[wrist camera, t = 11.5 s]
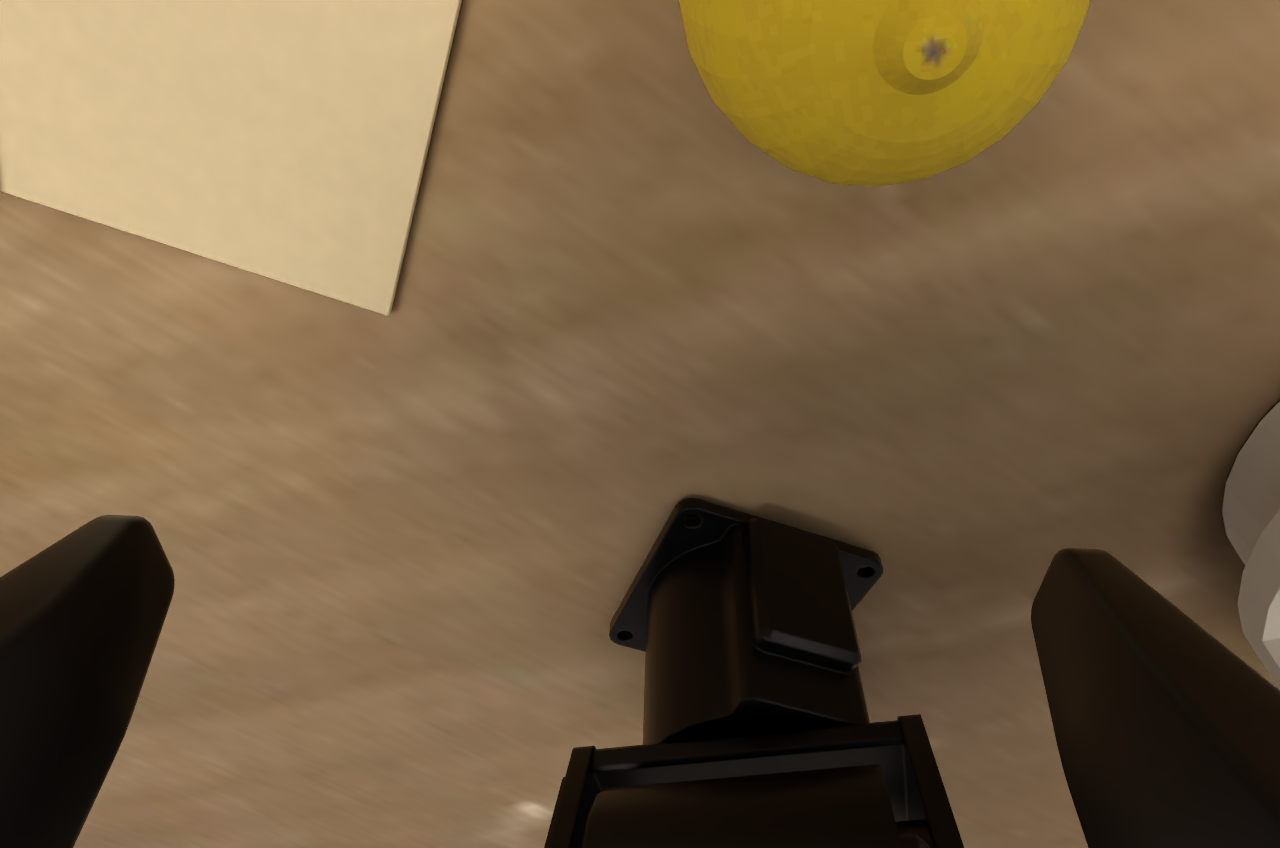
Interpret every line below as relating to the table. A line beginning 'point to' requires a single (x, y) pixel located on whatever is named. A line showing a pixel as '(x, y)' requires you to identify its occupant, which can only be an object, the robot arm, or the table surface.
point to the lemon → (878, 77)
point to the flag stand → (1258, 537)
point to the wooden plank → (232, 127)
